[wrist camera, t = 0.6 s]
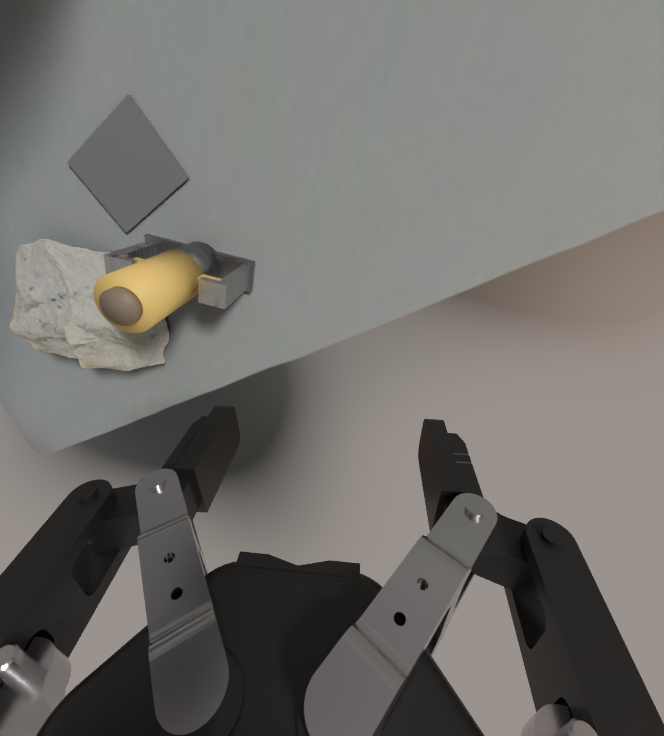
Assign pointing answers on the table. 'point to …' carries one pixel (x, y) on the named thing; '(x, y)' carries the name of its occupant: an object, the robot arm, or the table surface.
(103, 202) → the mat
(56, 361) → the table surface
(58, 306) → the rock
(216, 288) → the grey metal frame
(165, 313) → the yellow cylinder
